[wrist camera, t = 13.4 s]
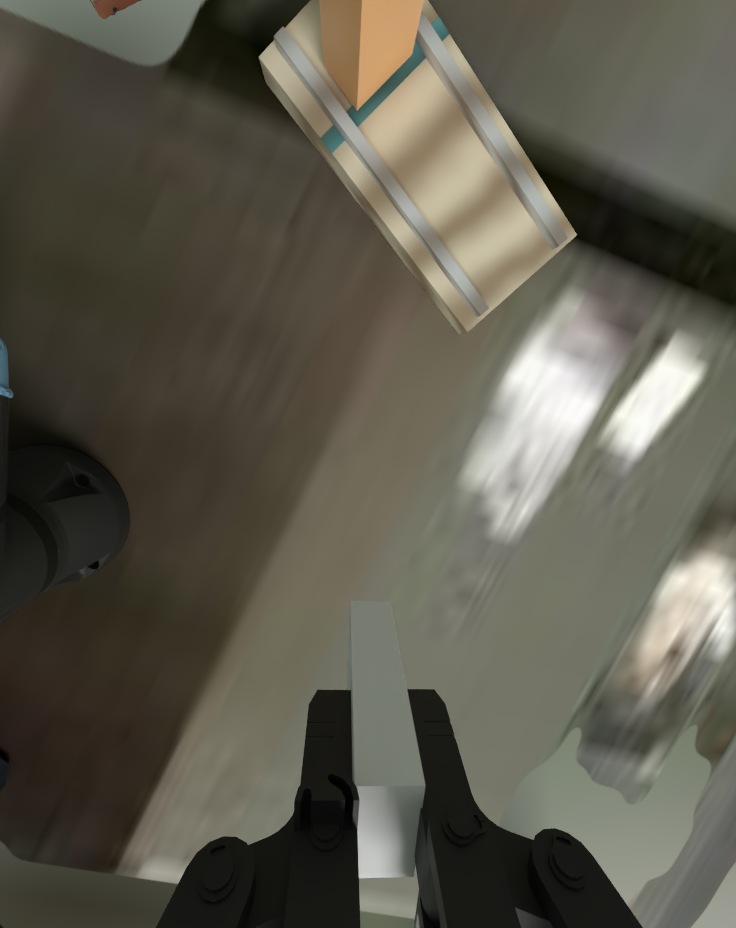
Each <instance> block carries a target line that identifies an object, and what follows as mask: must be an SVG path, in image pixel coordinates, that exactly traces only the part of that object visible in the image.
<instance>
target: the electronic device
mask: <svg viewBox="0 0 736 928" xmlns="http://www.w3.org/2000/svg"><path fill="white" fill-rule="evenodd" d="M90 1H91V3H92V5H93V6H94V8H95V9H96V11H97V13H98V14H99V16H100V17H101V18H104V19H105V18H107V17H109V16H110V15H115V13H116V11H119V10H122V9H125V8H127V7H128V6H130V5H132V4H134V3H136V2H138V1H140V0H90Z"/></svg>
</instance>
